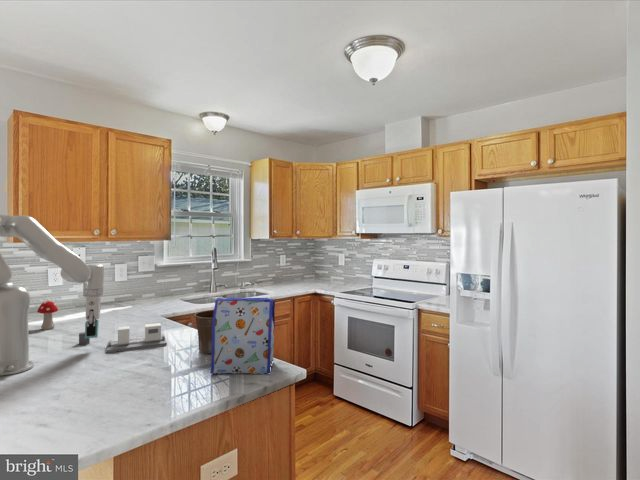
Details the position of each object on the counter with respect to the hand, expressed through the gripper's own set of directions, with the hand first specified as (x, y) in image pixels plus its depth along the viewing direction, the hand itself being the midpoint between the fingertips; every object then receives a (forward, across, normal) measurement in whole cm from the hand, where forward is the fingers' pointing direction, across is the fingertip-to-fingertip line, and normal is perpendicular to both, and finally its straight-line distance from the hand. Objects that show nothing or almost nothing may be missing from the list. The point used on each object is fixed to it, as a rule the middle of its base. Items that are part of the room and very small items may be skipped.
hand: (91, 333), depth 160 cm
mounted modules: (+5, 0, -19) cm, 20 cm away
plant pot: (+6, -23, -48) cm, 54 cm away
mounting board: (+7, +1, -18) cm, 19 cm away
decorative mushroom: (+7, +57, +25) cm, 62 cm away
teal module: (+1, 0, 0) cm, 1 cm away
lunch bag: (+7, -51, -54) cm, 75 cm away
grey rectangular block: (+7, +15, +4) cm, 17 cm away
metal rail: (+6, +1, -18) cm, 19 cm away
